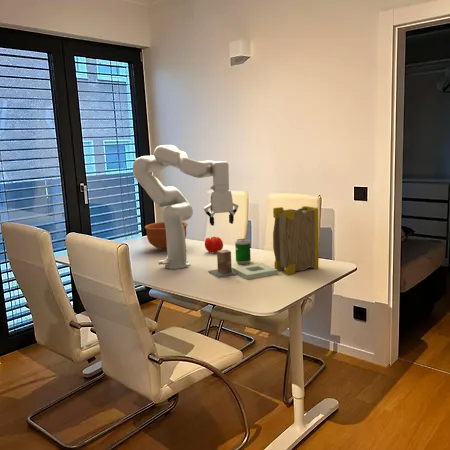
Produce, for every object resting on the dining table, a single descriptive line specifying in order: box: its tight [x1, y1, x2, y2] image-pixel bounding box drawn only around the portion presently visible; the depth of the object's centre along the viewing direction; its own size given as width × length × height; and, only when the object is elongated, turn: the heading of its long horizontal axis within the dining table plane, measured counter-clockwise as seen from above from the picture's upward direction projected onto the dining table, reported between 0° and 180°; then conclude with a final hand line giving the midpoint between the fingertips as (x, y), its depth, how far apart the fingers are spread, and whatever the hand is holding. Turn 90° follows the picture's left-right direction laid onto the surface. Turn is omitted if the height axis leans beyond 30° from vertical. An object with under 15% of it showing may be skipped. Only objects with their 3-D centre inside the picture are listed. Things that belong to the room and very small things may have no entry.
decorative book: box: [272, 205, 319, 276], centre depth 222 cm, size 20×11×30 cm, turn 116°
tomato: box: [204, 236, 224, 254], centre depth 266 cm, size 11×11×9 cm
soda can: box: [234, 238, 252, 265], centre depth 241 cm, size 8×8×12 cm
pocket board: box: [232, 262, 278, 280], centre depth 222 cm, size 16×14×2 cm
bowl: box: [144, 221, 188, 251], centre depth 278 cm, size 25×25×15 cm
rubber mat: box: [207, 267, 239, 279], centre depth 224 cm, size 12×12×1 cm
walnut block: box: [216, 249, 233, 274], centre depth 223 cm, size 5×5×10 cm
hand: (221, 224), depth 223 cm, fingers open, 9 cm apart
